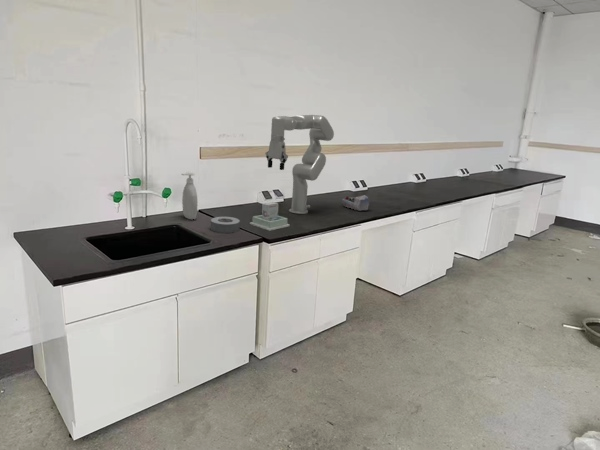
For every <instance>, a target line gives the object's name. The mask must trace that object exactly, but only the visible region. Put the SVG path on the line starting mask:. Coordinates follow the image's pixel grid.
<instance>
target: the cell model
mask: <svg viewBox="0 0 600 450" xmlns="http://www.w3.org/2000/svg"><path fill="white" fill-rule="evenodd" d="M341 202H342V205H343V207H344V206H345V208H346V207H347V208H346V209H349V208H351V210H353V209H354V210H353V211H358V212H362V211H369V210H368V209H369V206H370V199H369V197H368V196H367V195H365V194H363V195H360V196H356V197H355V196H354V197H353V196H351V197H349V196H345V197H342V199H341Z"/></svg>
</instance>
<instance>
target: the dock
mask: <svg viewBox="0 0 600 450" xmlns="http://www.w3.org/2000/svg"><path fill="white" fill-rule="evenodd" d="M288 219H289V218H288V217H284V216H281V215H278V220H275V221H267V220H264V219H262V214H261V215H253V216H252V222H249V225H251V226H254V227H256V228H261V229H263V230H267V231H269V232H271V231H275V230H278V229H279V230H280V229H284V228H287V227H290V225H291V224H289V223H288Z"/></svg>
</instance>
